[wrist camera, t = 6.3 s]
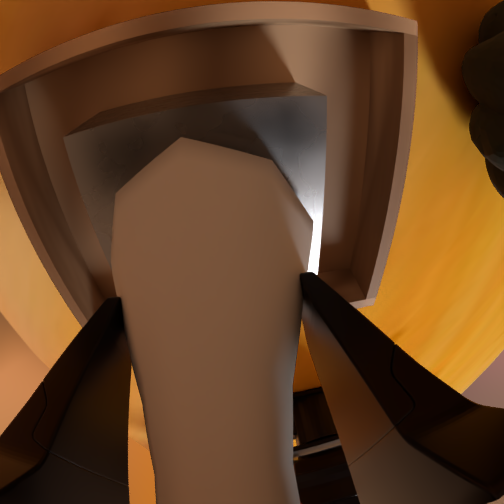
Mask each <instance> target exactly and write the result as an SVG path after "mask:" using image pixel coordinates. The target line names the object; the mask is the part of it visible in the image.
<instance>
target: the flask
mask: <svg viewBox="0 0 504 504" xmlns="http://www.w3.org/2000/svg"><path fill="white" fill-rule="evenodd" d="M313 223H314V221H313V220H312V218H311V217H310V215H309V214H308V212H307V211H306V209H305V208H304V206H303V205H302V203H301V202H300V200H299V199H298V197H297V196H296V194H295V193H294V191H293V190H292V188H291V187H290V185H289V184H288V182H287V181H286V180H285V178H284V177H283V175H282V174H281V172H280V171H279V170H278V168H277V167H276V165H275V164H274V162H273V161H272V160H270V159H266V158H263V157H259V156H256V155H252V154H248V153H245V152H241V151H237V150H233V149H230V148H226V147H222V146H218V145H214V144H209V143H205V142H201V141H197V140H192V139H188V138H183V137H180V138H179V139H178V140H177V141H175V142H174V143H173V144H172V145H170V146H169V147H168V148H167V149H165V150H164V151H163V152H162V153H161V154H159V155H158V156H157V157H156V158H155V159H153V160H152V161H151V162H150V163H149V164H148V165H146V166H145V167H144V168H143V169H142V170H141V171H140V172H138V173H137V174H136V175H135V176H134V177H133V178H132V179H131V180H130V181H128V182H127V183H126V184H125V185H124V186H123V187H122V188H121V189H120V190H119V191H118V192H117V193H116V196H115V205H114V216H113V228H112V244H111V266H112V274H113V279H114V285H115V290H116V294H117V296H118V297H121V306H122V315H123V323H124V331H125V336H126V340H127V345H128V349H129V354H130V358H131V362H132V366H133V370H134V374H135V378H136V382H137V386H138V389H139V393H140V397H141V400H142V404H143V411H144V418H145V425H146V432H147V438H148V443H149V449H150V454H151V459H152V465H153V470H154V474H155V493H156V504H300V499H299V493H298V488H297V482H296V477H295V472H294V466H293V378H294V372H295V365H296V358H297V350H298V343H299V335H300V327H301V319H302V310H303V302H304V297H303V292H302V286H301V281H300V273H304V272H308V266H309V259H310V252H311V245H312V237H313Z"/></svg>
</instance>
